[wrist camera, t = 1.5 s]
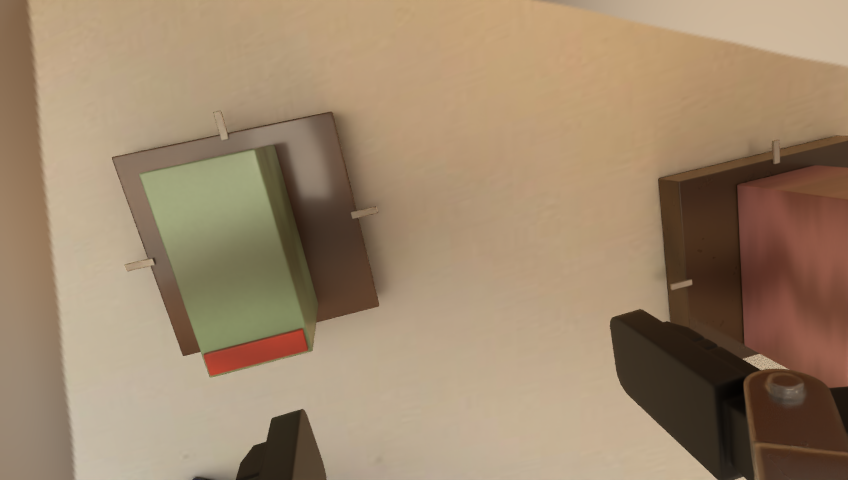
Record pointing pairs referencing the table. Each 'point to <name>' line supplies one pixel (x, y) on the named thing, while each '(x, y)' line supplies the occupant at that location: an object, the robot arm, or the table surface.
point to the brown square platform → (721, 236)
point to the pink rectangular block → (797, 270)
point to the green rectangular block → (236, 257)
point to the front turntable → (310, 200)
